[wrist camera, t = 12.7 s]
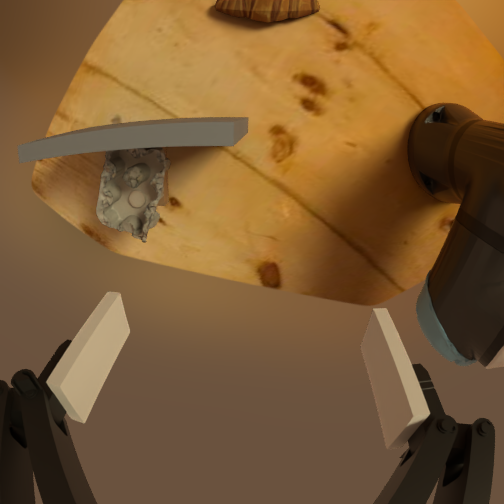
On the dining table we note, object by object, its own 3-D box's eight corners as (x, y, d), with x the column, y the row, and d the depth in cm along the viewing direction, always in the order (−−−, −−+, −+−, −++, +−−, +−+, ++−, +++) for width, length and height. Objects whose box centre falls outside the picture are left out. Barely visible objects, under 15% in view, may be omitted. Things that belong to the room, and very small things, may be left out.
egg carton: (157, 233, 36) (145, 248, 32) (106, 214, 35) (90, 227, 31) (179, 151, 31) (167, 157, 27) (121, 134, 30) (103, 139, 27)
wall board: (248, 117, 36) (233, 121, 22) (246, 189, 41) (232, 236, 27) (89, 127, 37) (17, 145, 23) (95, 189, 42) (31, 229, 28)
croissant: (317, -11, 27) (323, -24, 23) (319, 29, 30) (325, 19, 26) (217, -12, 28) (210, -25, 23) (216, 28, 31) (209, 18, 26)
